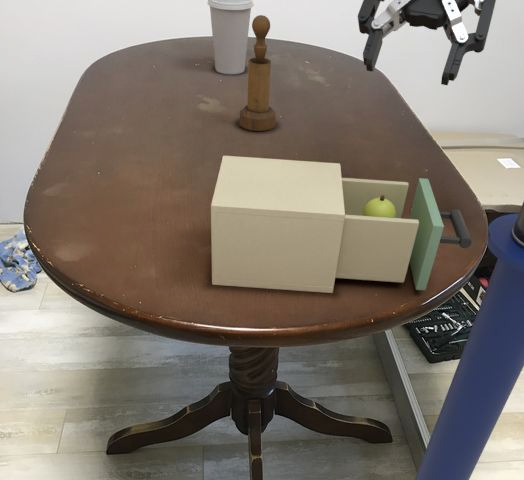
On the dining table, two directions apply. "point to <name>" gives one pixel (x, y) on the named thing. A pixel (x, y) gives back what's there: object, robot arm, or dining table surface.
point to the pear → (379, 208)
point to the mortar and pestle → (258, 83)
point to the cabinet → (277, 224)
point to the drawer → (393, 233)
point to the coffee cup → (230, 34)
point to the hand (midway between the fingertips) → (406, 74)
